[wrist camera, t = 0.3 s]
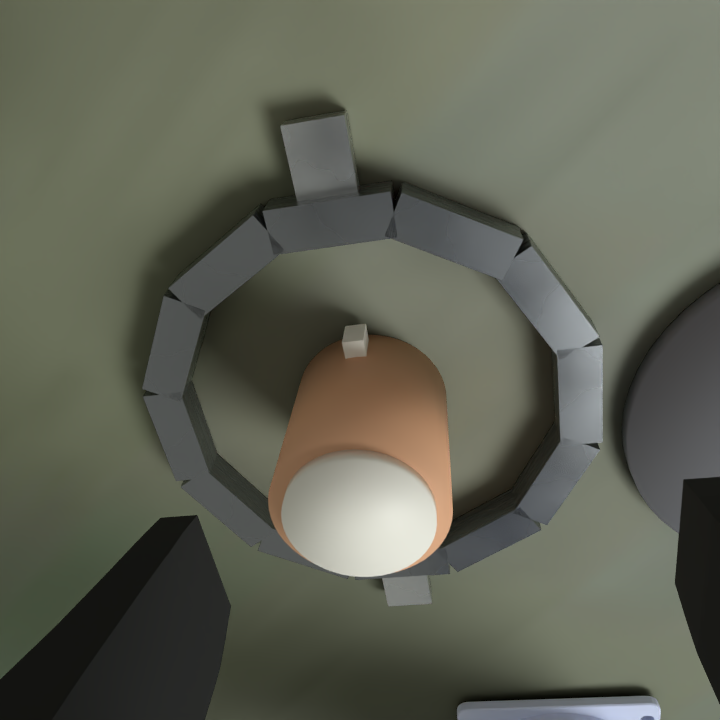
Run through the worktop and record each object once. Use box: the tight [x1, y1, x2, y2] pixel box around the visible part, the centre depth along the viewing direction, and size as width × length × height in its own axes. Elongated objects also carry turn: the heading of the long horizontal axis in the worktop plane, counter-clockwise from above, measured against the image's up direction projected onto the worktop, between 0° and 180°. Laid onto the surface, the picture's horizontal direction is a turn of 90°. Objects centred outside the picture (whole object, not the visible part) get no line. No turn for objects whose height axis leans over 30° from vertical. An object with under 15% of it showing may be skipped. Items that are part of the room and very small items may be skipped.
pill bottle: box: [268, 324, 453, 577], centre depth 19 cm, size 6×5×5 cm
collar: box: [142, 110, 603, 606], centre depth 21 cm, size 17×13×1 cm
